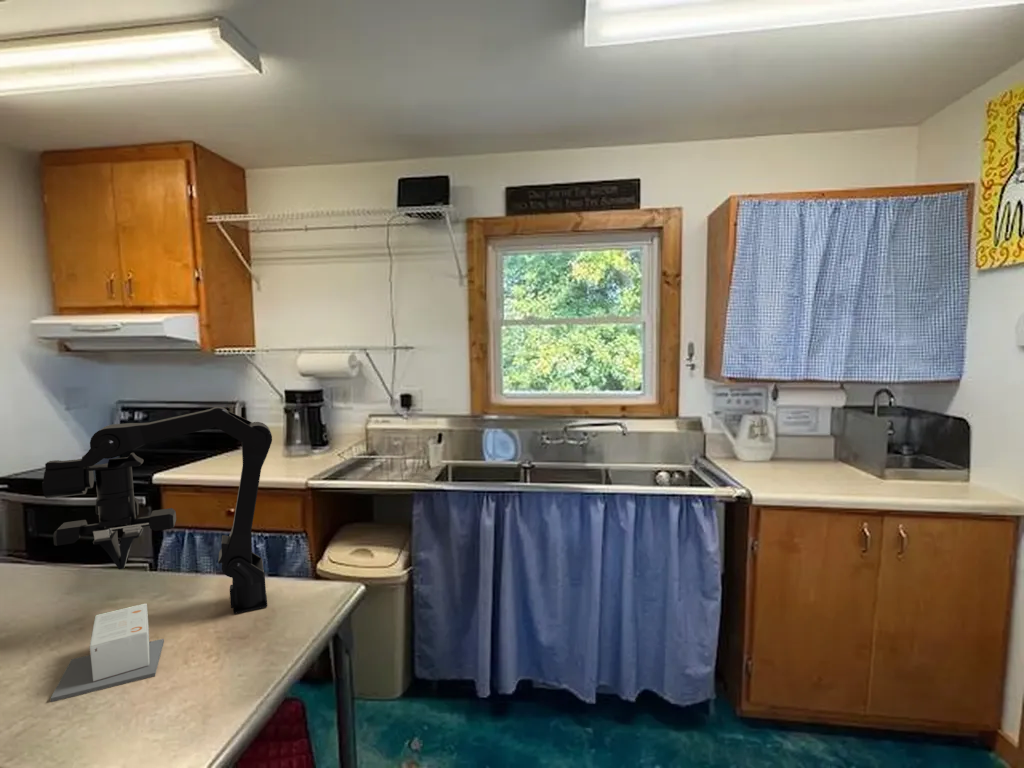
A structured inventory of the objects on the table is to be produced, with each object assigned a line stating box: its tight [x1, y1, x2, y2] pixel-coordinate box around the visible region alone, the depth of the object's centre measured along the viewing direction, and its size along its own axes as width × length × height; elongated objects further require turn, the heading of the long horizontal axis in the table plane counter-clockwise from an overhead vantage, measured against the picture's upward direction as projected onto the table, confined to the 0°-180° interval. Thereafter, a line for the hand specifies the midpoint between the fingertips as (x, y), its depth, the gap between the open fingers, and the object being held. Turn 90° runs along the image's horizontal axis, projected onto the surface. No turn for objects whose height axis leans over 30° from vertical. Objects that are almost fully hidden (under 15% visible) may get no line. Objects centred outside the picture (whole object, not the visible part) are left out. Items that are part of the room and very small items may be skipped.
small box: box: [89, 602, 150, 682], centre depth 97 cm, size 8×6×13 cm
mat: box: [50, 638, 165, 703], centre depth 95 cm, size 14×12×1 cm
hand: (121, 568), depth 106 cm, fingers closed
